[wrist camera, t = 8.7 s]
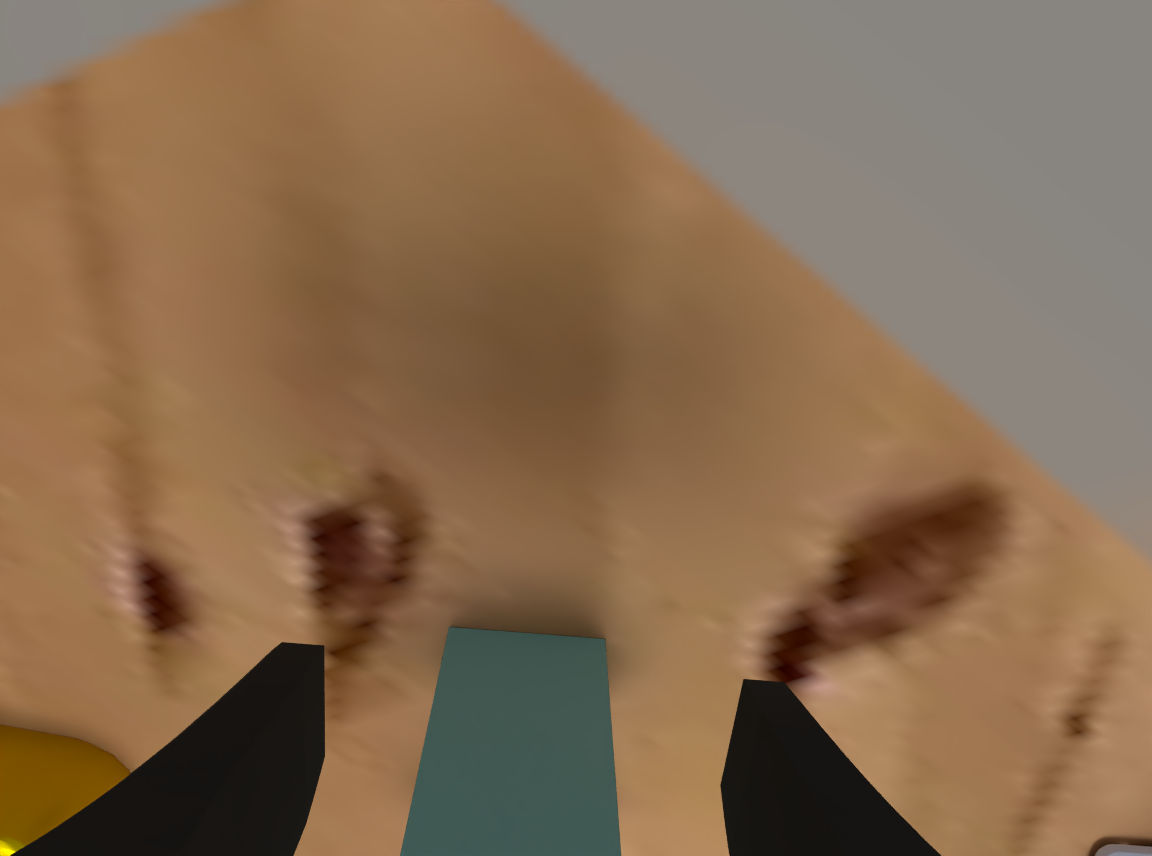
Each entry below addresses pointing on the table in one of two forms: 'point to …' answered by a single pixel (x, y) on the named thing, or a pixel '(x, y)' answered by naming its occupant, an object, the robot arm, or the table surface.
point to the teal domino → (517, 750)
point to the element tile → (48, 782)
